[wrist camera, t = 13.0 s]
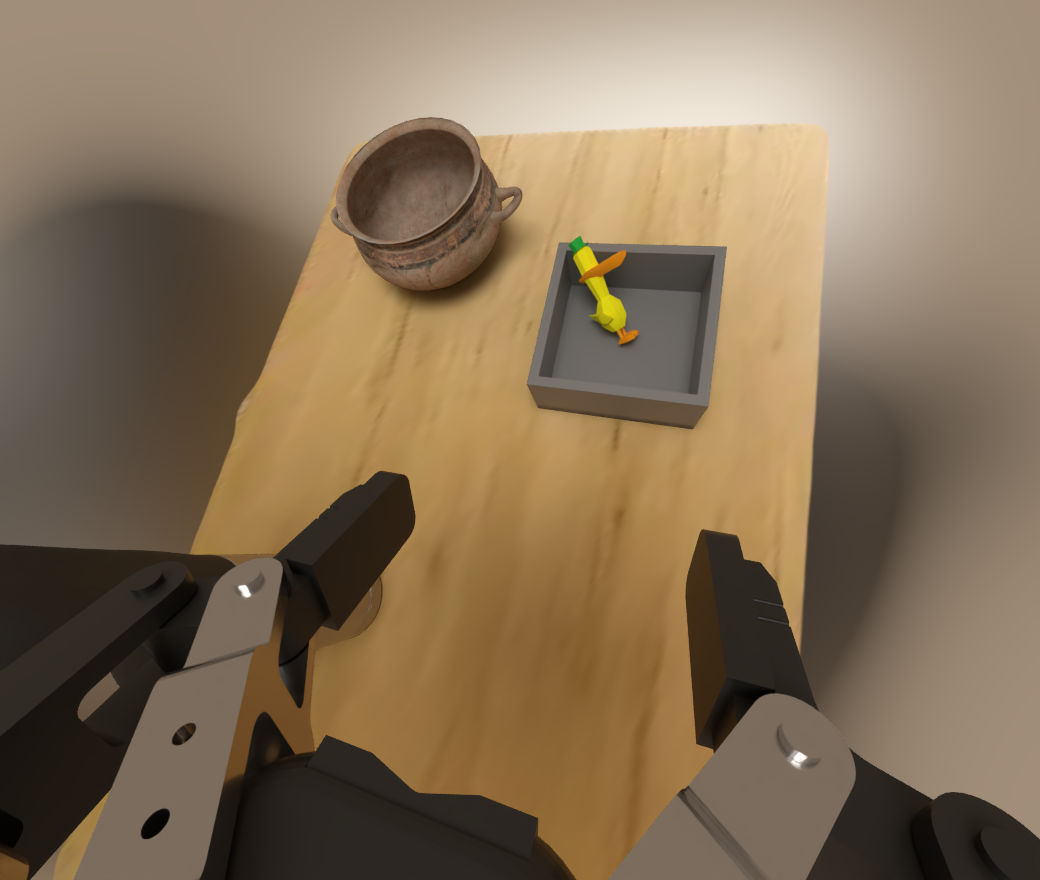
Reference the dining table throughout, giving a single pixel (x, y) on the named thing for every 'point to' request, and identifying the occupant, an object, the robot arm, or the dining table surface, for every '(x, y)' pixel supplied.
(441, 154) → the cooking pot
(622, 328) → the toy figure
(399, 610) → the dining table surface
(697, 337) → the bin
